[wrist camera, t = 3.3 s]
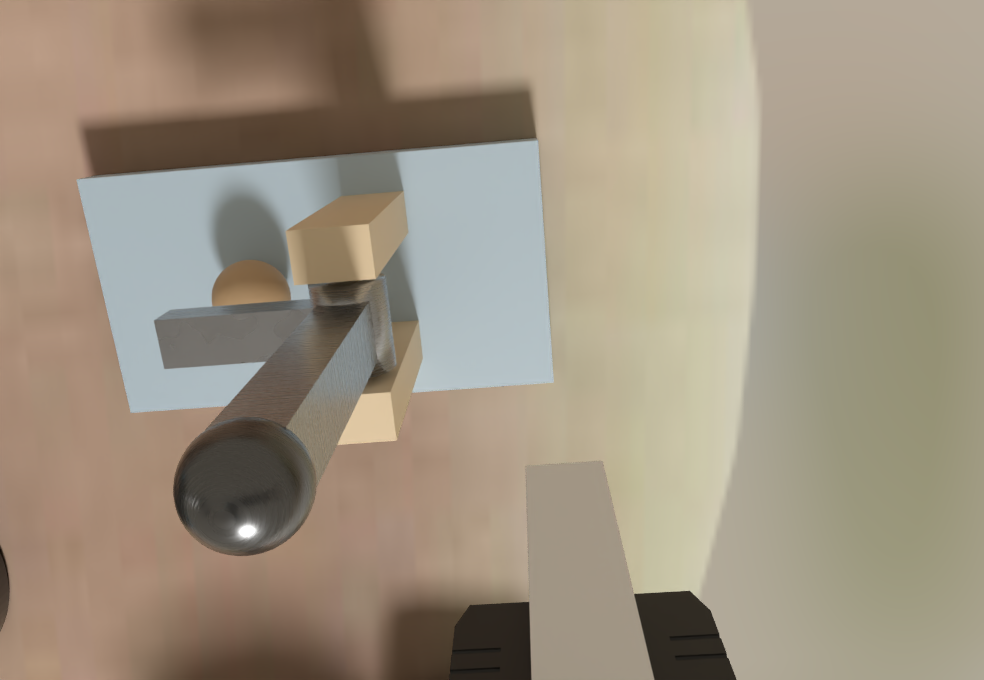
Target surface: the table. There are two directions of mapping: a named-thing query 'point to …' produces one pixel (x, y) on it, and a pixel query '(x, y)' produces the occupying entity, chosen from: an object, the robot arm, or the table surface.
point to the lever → (274, 406)
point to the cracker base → (272, 196)
